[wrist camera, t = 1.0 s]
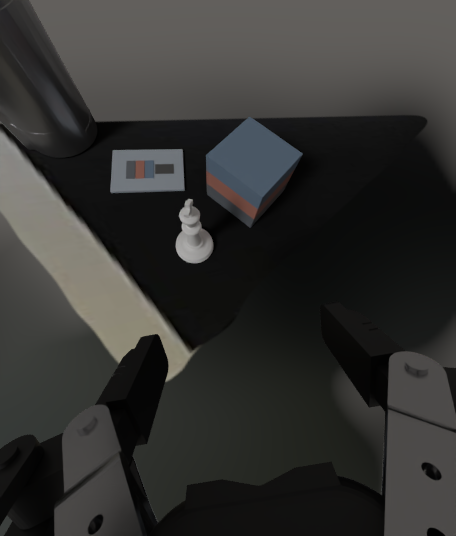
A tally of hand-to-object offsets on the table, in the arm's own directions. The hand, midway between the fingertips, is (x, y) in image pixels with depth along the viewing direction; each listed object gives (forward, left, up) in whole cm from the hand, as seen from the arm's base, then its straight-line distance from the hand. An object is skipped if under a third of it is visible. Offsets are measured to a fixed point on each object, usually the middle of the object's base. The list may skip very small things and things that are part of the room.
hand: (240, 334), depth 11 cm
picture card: (-9, +23, -16) cm, 30 cm away
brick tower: (+5, +19, -16) cm, 26 cm away
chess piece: (-3, +11, -16) cm, 20 cm away
